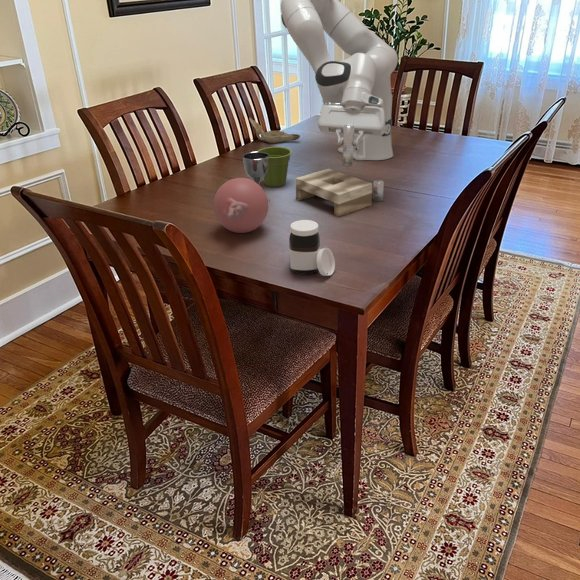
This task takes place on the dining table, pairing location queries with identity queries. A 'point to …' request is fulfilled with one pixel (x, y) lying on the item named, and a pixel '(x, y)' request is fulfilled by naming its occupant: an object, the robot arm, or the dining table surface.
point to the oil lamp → (273, 134)
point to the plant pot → (276, 165)
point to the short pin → (378, 190)
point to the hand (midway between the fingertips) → (347, 144)
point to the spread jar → (309, 249)
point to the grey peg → (348, 145)
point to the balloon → (240, 205)
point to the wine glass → (256, 165)
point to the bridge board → (336, 190)
